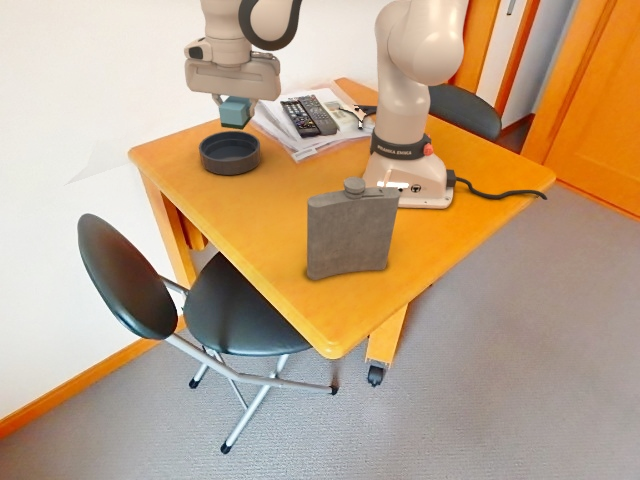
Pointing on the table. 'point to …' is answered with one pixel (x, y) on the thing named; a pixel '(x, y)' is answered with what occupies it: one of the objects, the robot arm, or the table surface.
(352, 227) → the hip flask
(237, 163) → the bowl
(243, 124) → the sponge
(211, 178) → the table surface
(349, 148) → the table surface
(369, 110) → the bracket
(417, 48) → the robot arm
